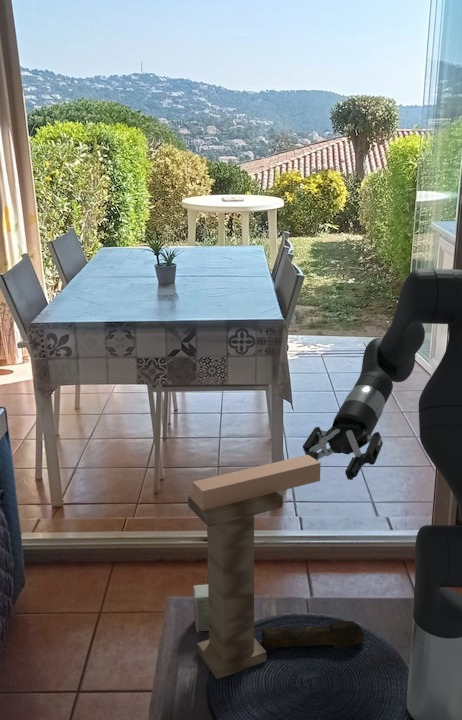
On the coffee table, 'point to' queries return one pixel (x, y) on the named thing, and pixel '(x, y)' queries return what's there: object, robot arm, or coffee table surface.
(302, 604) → the coffee table surface
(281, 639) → the hand tool
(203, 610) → the small box
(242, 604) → the stand
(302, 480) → the bar
